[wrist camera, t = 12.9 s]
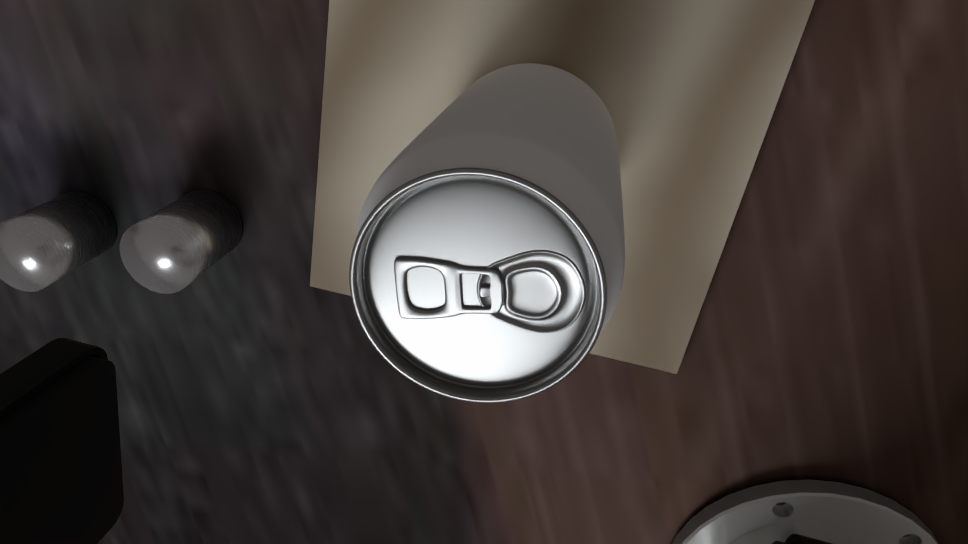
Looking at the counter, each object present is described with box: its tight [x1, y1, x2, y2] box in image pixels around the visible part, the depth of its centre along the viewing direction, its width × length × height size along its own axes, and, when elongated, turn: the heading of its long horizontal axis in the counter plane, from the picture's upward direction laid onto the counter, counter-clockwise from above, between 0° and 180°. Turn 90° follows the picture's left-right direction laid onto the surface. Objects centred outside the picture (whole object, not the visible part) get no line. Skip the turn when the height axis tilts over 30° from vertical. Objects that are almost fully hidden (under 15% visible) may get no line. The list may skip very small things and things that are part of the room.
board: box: [310, 0, 815, 374], centre depth 26 cm, size 16×16×1 cm
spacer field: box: [0, 189, 243, 294], centre depth 26 cm, size 15×18×4 cm
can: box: [349, 63, 625, 403], centre depth 20 cm, size 6×6×12 cm
